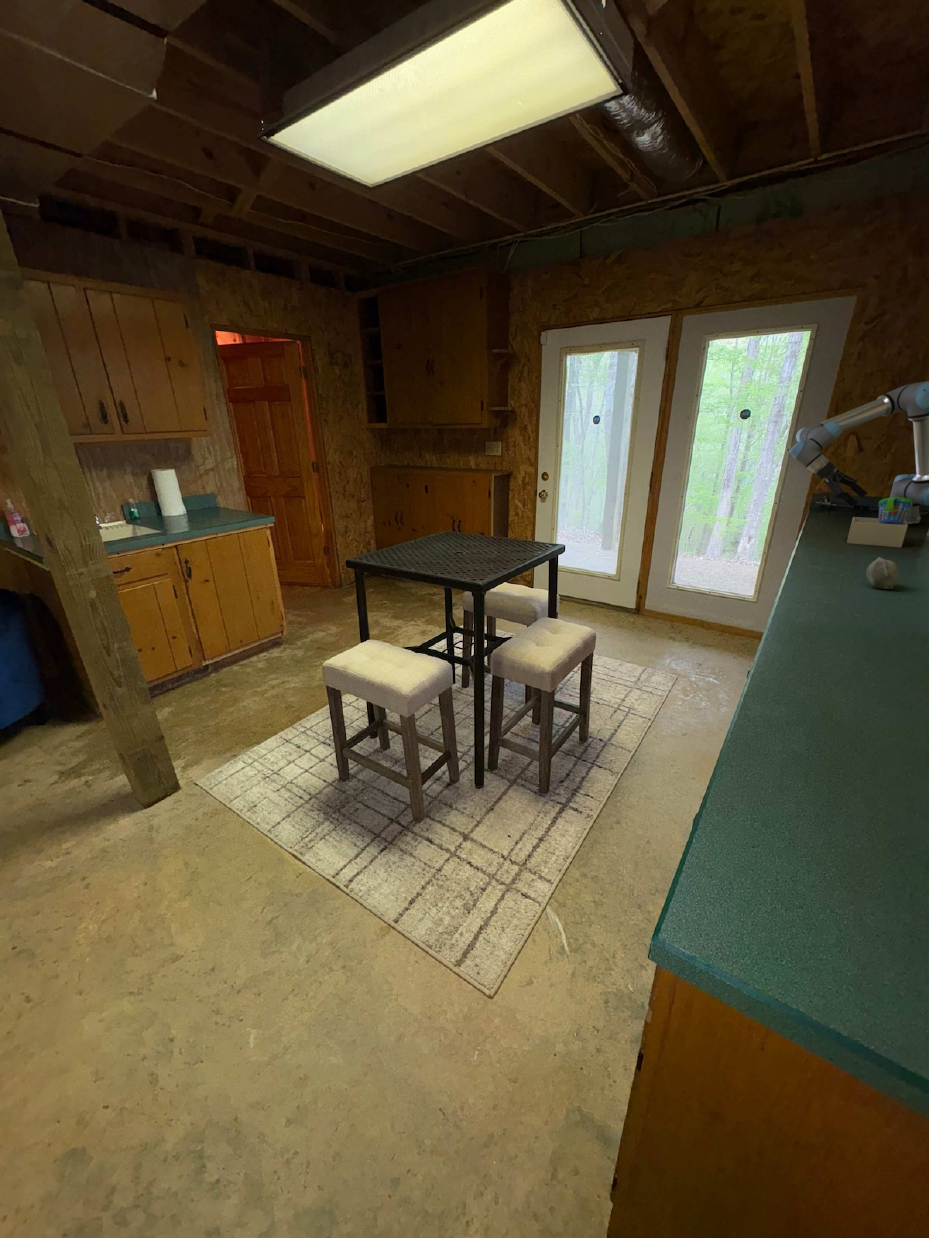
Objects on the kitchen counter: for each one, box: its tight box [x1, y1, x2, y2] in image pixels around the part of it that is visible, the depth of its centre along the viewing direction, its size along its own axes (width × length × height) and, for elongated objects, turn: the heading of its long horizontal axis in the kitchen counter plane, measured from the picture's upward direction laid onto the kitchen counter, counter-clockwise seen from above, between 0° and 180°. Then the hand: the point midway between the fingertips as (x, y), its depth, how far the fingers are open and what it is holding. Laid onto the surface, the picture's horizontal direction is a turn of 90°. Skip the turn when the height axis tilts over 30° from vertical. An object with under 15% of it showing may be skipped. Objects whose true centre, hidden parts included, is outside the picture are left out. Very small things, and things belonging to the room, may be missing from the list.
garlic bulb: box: [865, 557, 900, 590], centre depth 150 cm, size 9×8×10 cm
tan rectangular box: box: [846, 516, 909, 548], centre depth 202 cm, size 13×18×9 cm
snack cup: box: [877, 497, 913, 525], centre depth 196 cm, size 16×10×10 cm
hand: (860, 500), depth 212 cm, fingers open, 13 cm apart
